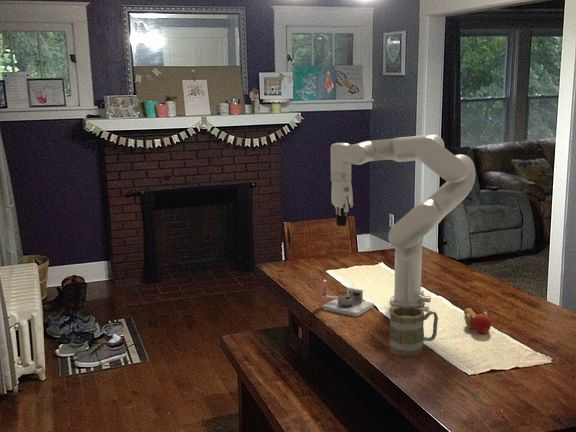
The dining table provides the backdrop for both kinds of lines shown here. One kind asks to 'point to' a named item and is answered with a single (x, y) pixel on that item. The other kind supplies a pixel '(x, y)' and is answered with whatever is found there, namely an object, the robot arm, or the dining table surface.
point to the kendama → (477, 321)
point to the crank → (341, 300)
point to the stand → (351, 310)
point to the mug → (409, 330)
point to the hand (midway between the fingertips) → (341, 225)
